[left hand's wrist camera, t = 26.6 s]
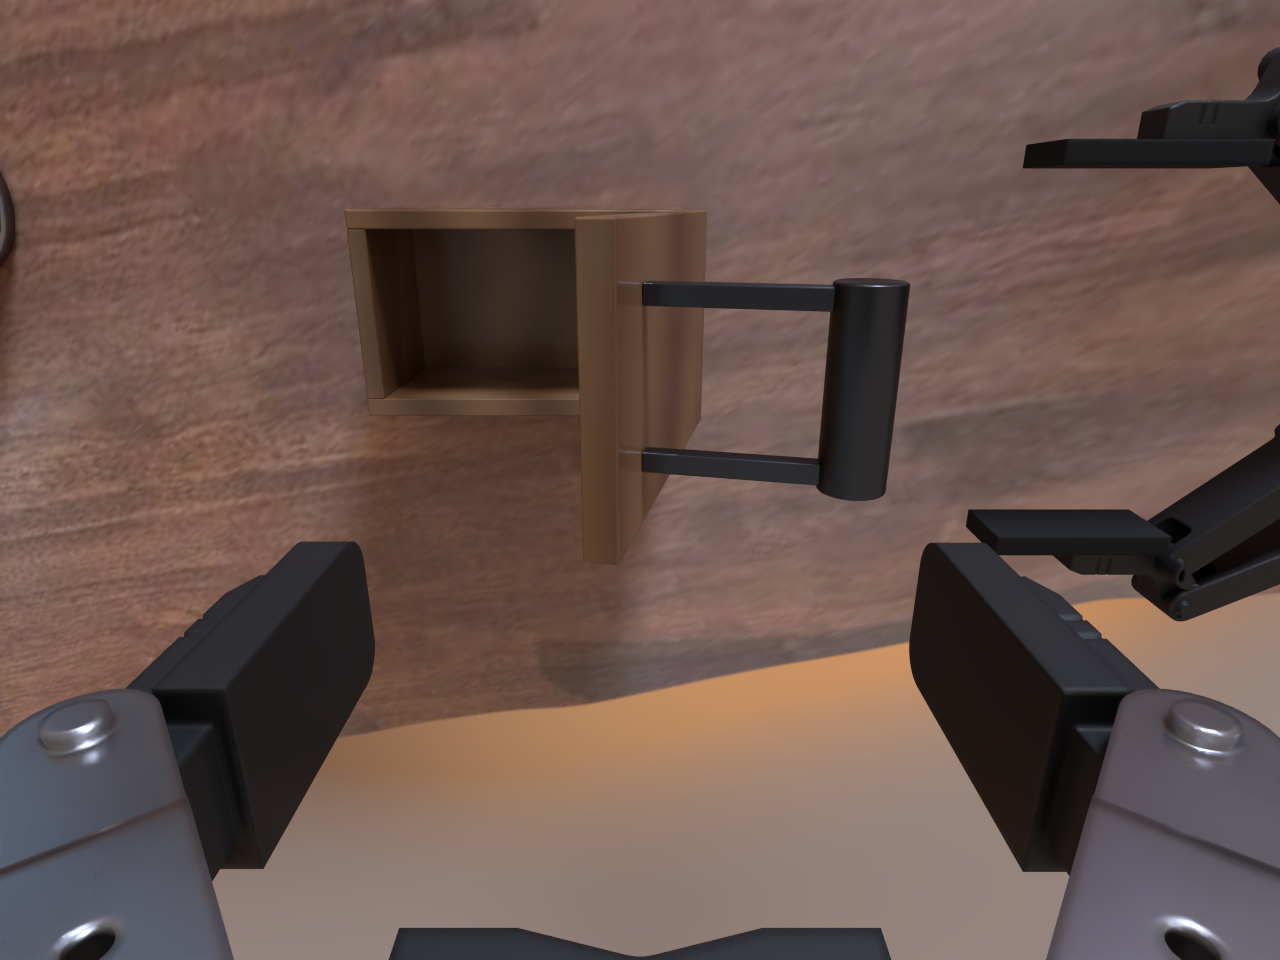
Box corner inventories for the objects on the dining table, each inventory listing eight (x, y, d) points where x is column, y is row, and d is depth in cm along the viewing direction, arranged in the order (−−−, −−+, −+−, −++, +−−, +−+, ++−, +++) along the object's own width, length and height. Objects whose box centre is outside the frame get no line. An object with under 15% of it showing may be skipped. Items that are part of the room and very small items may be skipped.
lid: (582, 562, 23) (887, 593, 22) (573, 216, 20) (934, 218, 18) (678, 418, 39) (860, 429, 37) (682, 209, 35) (883, 210, 34)
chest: (415, 378, 47) (368, 415, 39) (398, 207, 44) (343, 209, 36) (680, 378, 47) (689, 416, 39) (683, 208, 44) (694, 209, 36)
